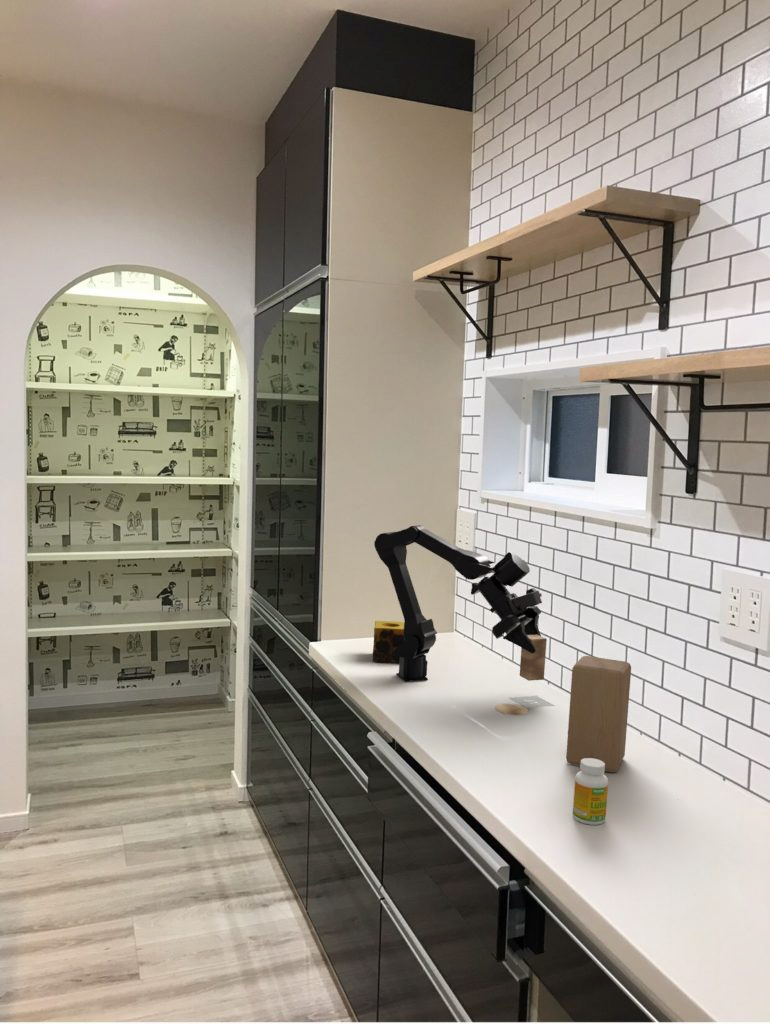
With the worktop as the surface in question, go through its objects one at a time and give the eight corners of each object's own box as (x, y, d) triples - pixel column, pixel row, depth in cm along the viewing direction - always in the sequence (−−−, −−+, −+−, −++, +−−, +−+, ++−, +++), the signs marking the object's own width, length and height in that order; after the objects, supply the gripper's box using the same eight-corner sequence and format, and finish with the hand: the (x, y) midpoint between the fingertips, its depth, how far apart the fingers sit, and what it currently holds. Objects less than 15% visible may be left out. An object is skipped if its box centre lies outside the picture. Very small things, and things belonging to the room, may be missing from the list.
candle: (408, 665, 231) (410, 629, 231) (372, 663, 232) (373, 627, 231) (408, 655, 242) (409, 621, 241) (373, 653, 242) (374, 620, 241)
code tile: (525, 709, 197) (525, 707, 197) (508, 699, 204) (508, 697, 204) (554, 706, 200) (554, 705, 200) (536, 696, 207) (536, 695, 207)
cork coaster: (505, 717, 190) (505, 715, 190) (489, 706, 197) (489, 705, 197) (533, 714, 193) (534, 712, 193) (516, 704, 200) (516, 702, 200)
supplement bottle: (590, 828, 136) (594, 771, 136) (565, 815, 141) (569, 759, 140) (612, 821, 140) (616, 764, 139) (586, 808, 144) (590, 754, 143)
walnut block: (528, 680, 198) (531, 639, 198) (519, 675, 202) (522, 635, 201) (543, 679, 200) (546, 638, 199) (534, 674, 204) (537, 634, 203)
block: (625, 758, 168) (632, 661, 167) (616, 775, 159) (624, 673, 158) (575, 748, 173) (582, 653, 171) (564, 764, 164) (571, 664, 162)
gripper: (507, 582, 193) (550, 637, 188) (536, 573, 209) (576, 623, 204) (474, 611, 198) (515, 665, 193) (504, 600, 214) (543, 649, 209)
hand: (539, 649), depth 200 cm, fingers closed on walnut block, 6 cm apart
